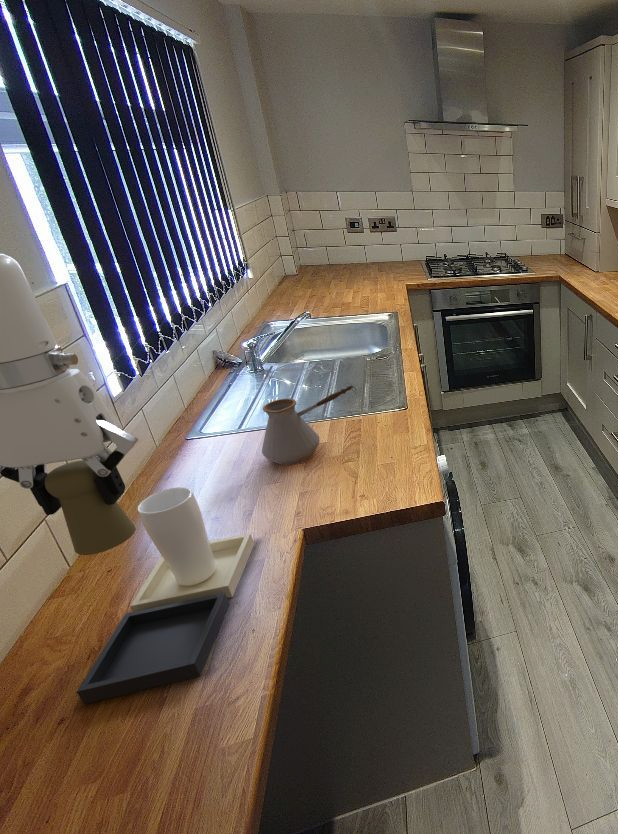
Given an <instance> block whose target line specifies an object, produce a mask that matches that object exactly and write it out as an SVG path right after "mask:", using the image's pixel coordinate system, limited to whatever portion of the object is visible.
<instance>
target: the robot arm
mask: <svg viewBox="0 0 618 834" xmlns="http://www.w3.org/2000/svg"><path fill="white" fill-rule="evenodd" d="M78 364H79V357H78V355H77V354H76V353H72V352H71V353H66V352H63V350H62V347H61V346H60V345H58V342H57V341H56V338H55V336H54V334H53V332H52V330H51V328H50V325H49V323H48V321H47V319H46V317H45V315H44V313H43V311H42V309H41V306H40V304H39V302H38V300H37V298H36V296H35V294H34V291H33V290H32V287H31V285H30V283H29V280H28V278H27V277H26V274H25V273H24V271H23V269H22V267H21V265H20V263H19V262H18V261H17V260H16V259H14V258H13V257H12V256H9V255H7V254H4V253H0V476H1V477H3V478H5V479H8V480H11V481H14V482H16V483H18V484H19V486H20V487H21V488H22V489H27V490H28V489H29V490H30V492H31V493H32V495H33V497H34V499H35V501H36V502H37V504H38V505H39V507H41V508H42V510H43V512H44V514H45V515H46V516H51V515H52V516H53V515H55V514H56V513H57V512H58V511H59V510H60V509H62V507H61V504H60V501H59V498H57V497H54V496H52V495H51V494H50V493H49V492H48V491H47V490H46V488H45V478H46V476H47V475H48V464H53V463H55V464H56V463H61V462H68V461H77V460H83V461H84V462H85V463H86V464H87V465H88V466H89V467H90V468H91V469H92V470H93V471H94V472H95V473H96V474H97V475H98V476H97V477H96V478H95V480H94V481H95V484H96V486H97V488H98V490H99V492H100V494H101V496H102V498H103V500H104V502H105V504H107V505H112V504H115V503H116V501H117V502H118V500H119V499H120V498H121V497H122V496H123V494H124V493H125V490H126V484H125V482H124V480H123V478H122V476H121V473H120V472H119V470H118V467H117V466H119V464H120V463H121V461H122V460H123V459H124V458H125V456H126V455H127V454H128V453H129V452H130V451H131V450H132V449H133V448H134V447H136V445H137V444H138V443H139V438H138V437H137V436H135V435H133V434H131V433H129V432H127V431H125V430H123V429H121V428H119V427H118V426H117V423H116V422H115V420H114V418H113V416H112V415H111V413H110V411H109V409H108V407H107V405H106V404H105V402H104V400H103V399H102V398H101V396H100V394H99V393H98V392H97V390H96V389H95V387H94V386H93V385H92V383H91V382H90V381H89V379H88V378H87V377H86V376H85V375H84V373H83V372H81V370H80V369H78V368H70V367H71V366H76V365H78ZM109 442H111V443H113V444H115V445H116V447H115V448H114V449H113V451H112V450H111V449H110V448H109V447H108V446H107V445H106V444H105V443H109Z"/></svg>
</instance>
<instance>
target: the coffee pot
mask: <svg viewBox="0 0 618 834" xmlns="http://www.w3.org/2000/svg"><path fill="white" fill-rule="evenodd" d="M351 390H352V392H353V393H354V394H358V390H357V389H356V387H355V386H354V385H349V386H347V387H345V388H341V389H340V390H339V391H336V392H334V393H330V394H329V395H327V396H326V397H325V398H322V399H321V400H319V401H318V402H316V403H315V404H312V405H310V406H308V407H307V408H304V409H303V410H301V411H298V412H297V410H296V405H297V401H296V399H293V398H280V399H276V400H272V401H269V402H267V403H266V404H265V405H263V407H262V411H263V412H264V413H266V414H267V416H268V417H267V422H266V428H265V432H264V436H263V437H264V439H263V441H262V442H263V443H262V447H261V454H262V456H263V457H264V458H266V459H267V461H268V460H269V461H270V462H273V463H276V464H278V465H293V464H297V463H300V462H302V461H305V460H306V459H308V458H310V457H311V456H312V455H313V454H314V452H315V451H316V450H317V448H318V447H319V444H320V436H319V435H318V433H317V432H316V431H315V430H314V429H313V428H312V426H311V425H310V424H309V423H308V422H307V421H305V419H304V418H303V417H302V416H304V415H306V414H307V413H309V412H311V411H312V410H314V409H316V408H319V407H321V406H323V405H326V404H327V403H330V402H331V401H334V400H335V399H337V398H338V397H340V396H341V395H345V394H346V392H348V391H351Z"/></svg>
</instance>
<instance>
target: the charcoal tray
mask: <svg viewBox="0 0 618 834" xmlns="http://www.w3.org/2000/svg"><path fill="white" fill-rule="evenodd" d="M229 607H230V602H229V598H227V596H226V594H225V593H221V594H216V595H211V596H207V597H202V598H197V599H192V600H188V601H183V602H178V603H173V604H169V605H164V606H159V607H155V608H150V609H145V610H140V611H136V612H133V611H131V612H127V613H125V614H124V615H123V617H122V618H121V620H120V622H119V623H118V624H117V626H116V627H115V629H114V631H113V632H112V635H111V636H110V637H109V638H108V640H107V642H106V644H105V645H104V647H103V649H102V650H101V652H100V653H99V655H98V656H97V658H96V660H95V661H94V663H93V665H92V666H91V668H90V669H89V671H88V672H87V674H86V676H85V678H84V679H83V681H81V683H80V685H79V687H78V689H77V690H76V694H77V695H78V697H79V699H80V700H81V702H82V703H83V705H88V704H92V703H96V702H100V701H104V700H108V699H112V698H116V697H120V696H124V695H128V694H132V693H136V692H141V691H144V690H149V689H153V688H156V687H161V686H164V685H169V684H173V683H176V682H181V681H186V680H189V679H193V678H198V677H200V676H201V675H202V673H203V670H204V667H205V666H206V663H207V660H208V658H209V655H210V653H211V651H212V648H213V646H214V643H215V641H216V639H217V636H218V634H219V632H220V629H221V626H222V624H223V622H224V618H225V617H226V614H227V612H228V609H229Z"/></svg>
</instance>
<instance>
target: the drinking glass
mask: <svg viewBox="0 0 618 834" xmlns="http://www.w3.org/2000/svg"><path fill="white" fill-rule="evenodd" d="M137 513H138V515H139V518H140V520H141V523H142V525H143V527H144V529H145V531H146V533H147V535H148V536H149V538H150V540H151V541H152V543H153V544H154V546H155V547H156V549H157V551H158V552H159V554H160V555H161V556H162V557H163V558H164V560H165V562H166V563H167V565H168V566H169V568H170V570H171V571H172V573H173V575H174V577H175V579H176V581H177V583H178V584H180V585H182V586H192V585H196V584H199V583H201V582H203V581H205V580H206V579H208V578H209V577H210V576H212V575H213V573H214V572H215V570H216V567H217V566H216V562H215V559H214V557H213V554H212V550H211V547H210V543H209V541H210V540H209V537H208V532H207V528H206V525H205V521H204V517H203V514H202V511H201V507H200V505H199V502H198V501H197V498H196V496H195V494H194V492H193V490H192V489H190V488H189V487H185V486H177V487H170V488H167V489H163V490H160V491H157V492H155V493H153V494H151V495H149V496H147V497H146V498H144V499H143V500H142V501H141V502H140V503H139V504H138V506H137Z"/></svg>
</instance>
